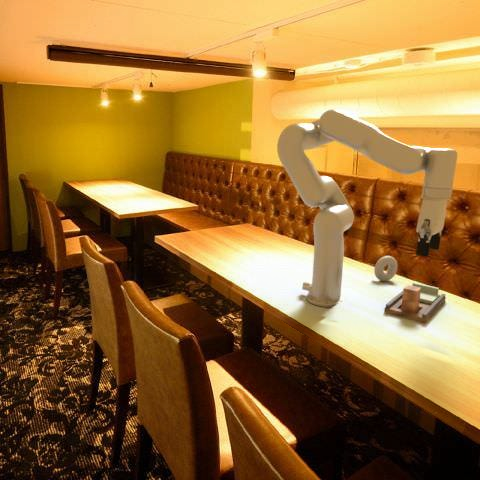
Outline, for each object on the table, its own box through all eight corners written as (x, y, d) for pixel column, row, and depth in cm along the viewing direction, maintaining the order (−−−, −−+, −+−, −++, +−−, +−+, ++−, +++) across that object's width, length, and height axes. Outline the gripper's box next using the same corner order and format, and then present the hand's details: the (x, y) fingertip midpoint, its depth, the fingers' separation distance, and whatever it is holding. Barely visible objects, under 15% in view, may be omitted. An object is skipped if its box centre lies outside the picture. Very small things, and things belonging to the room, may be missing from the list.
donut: (377, 284, 162) (379, 258, 160) (371, 281, 165) (373, 255, 163) (398, 280, 166) (400, 255, 164) (391, 278, 169) (394, 253, 167)
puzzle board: (383, 316, 134) (385, 304, 133) (407, 296, 151) (409, 285, 150) (423, 328, 127) (425, 315, 126) (444, 305, 144) (446, 294, 143)
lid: (402, 297, 142) (403, 288, 141) (410, 290, 148) (412, 281, 147) (432, 304, 136) (433, 295, 136) (439, 296, 142) (440, 288, 142)
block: (400, 312, 134) (403, 288, 132) (405, 308, 137) (407, 284, 135) (413, 316, 132) (417, 291, 129) (418, 312, 135) (421, 287, 133)
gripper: (432, 188, 131) (424, 243, 135) (412, 195, 118) (404, 255, 122) (459, 192, 126) (449, 248, 131) (441, 198, 113) (431, 261, 118)
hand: (427, 252), depth 126 cm, fingers open, 9 cm apart
